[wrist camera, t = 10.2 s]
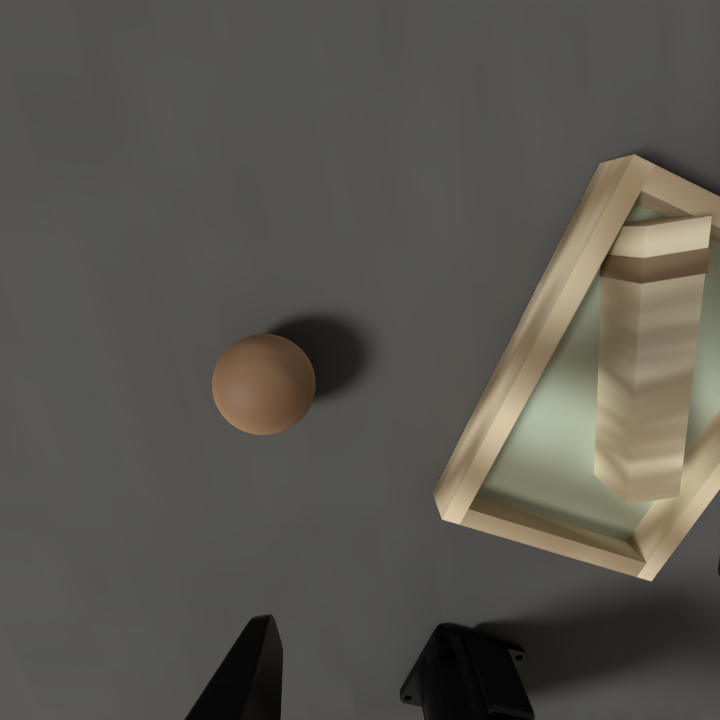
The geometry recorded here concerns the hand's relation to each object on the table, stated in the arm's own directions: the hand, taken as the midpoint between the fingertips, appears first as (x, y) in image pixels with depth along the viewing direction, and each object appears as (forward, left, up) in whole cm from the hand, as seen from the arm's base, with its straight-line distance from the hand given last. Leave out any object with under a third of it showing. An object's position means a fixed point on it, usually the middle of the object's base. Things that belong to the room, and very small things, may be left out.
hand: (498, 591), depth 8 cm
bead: (-2, +6, -13) cm, 14 cm away
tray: (+3, -11, -13) cm, 17 cm away
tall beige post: (-1, -13, -11) cm, 17 cm away
